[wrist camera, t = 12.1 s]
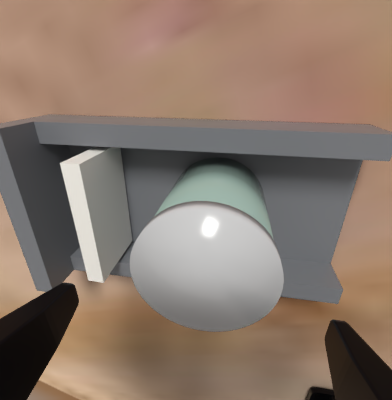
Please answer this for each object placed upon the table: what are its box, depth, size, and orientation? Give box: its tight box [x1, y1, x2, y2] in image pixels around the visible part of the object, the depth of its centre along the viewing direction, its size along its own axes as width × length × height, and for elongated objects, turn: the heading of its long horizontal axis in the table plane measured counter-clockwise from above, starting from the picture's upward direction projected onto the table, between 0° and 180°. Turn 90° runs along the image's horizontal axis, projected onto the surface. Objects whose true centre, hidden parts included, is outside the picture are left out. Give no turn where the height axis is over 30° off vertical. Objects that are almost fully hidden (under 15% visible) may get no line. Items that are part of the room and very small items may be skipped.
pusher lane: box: [0, 115, 392, 304], centre depth 15 cm, size 10×19×5 cm, turn 90°
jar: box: [130, 157, 284, 332], centre depth 13 cm, size 6×6×7 cm
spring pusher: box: [60, 146, 132, 283], centre depth 15 cm, size 7×1×4 cm, turn 0°
